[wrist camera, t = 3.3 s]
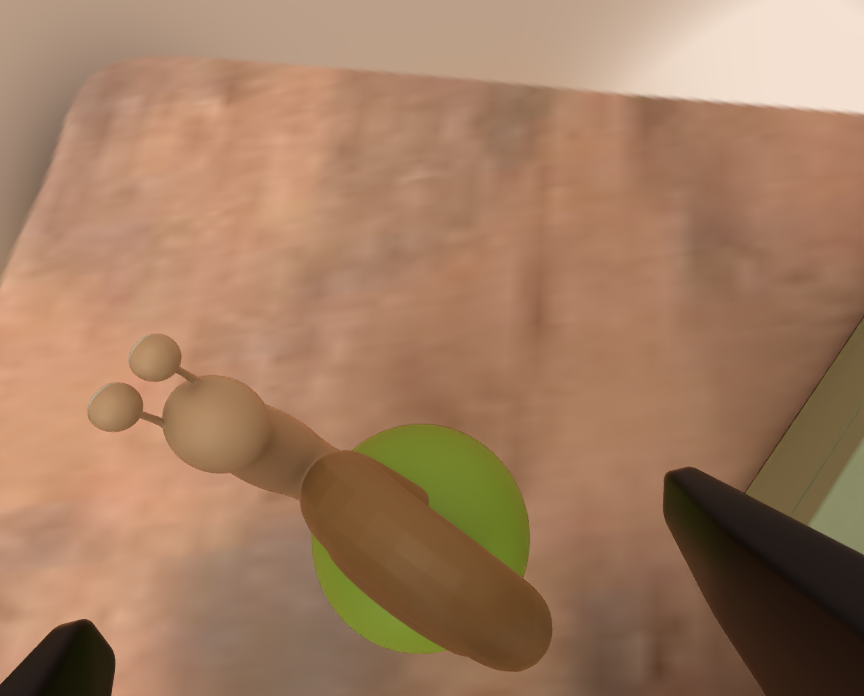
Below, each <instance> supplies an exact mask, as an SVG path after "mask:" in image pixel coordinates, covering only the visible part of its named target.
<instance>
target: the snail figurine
mask: <svg viewBox="0 0 864 696" xmlns="http://www.w3.org/2000/svg"><path fill="white" fill-rule="evenodd" d="M128 361H129V365H130V368H131V370H132V372H133V373H134V374H135V375H136V376H138V377H139V378H141V379H143V380H146V381H151V382H158V381H163V380H165V379H168V378H169V377H171V376H172V375H173V374H175V372H176V373H178V374H179V375H181V376H183V377H184V378H185V379H187V380H188V381H186V382H184V383H183V384H181V385H180V386H178V387H177V388H176V389H175V390H174V391H173V392H172V393H171V394H170V396H169V397H168V399H167V401H166V403H165V406H164V409H163V415H162V418H160V417H158V416H154V415H151V414H148V413H146V412H142V411H143V401H142V398H141V396H140V394H139V393H138V391H137V390H136V389H135V388H133V387H132V386H130V385H128V384H125V383H110V384H107V385H105V386H103V387H102V388H100V389H99V390H98V391H97V392H96V393H95V394H94V395H93V397H92V398H91V400H90V402H89V404H88V408H87V412H88V417H89V420H90V421H91V423H92V424H93V425H94V426H96V427H97V428H99V429H101V430H104V431H108V432H119V431H123V430H126V429H128V428H130V427H131V426H133V425H134V424H135V423H136V422H137V421H138V419H139V418H141V419H144V420H147V421H149V422H152V423H154V424H156V425H159V426H160V427H162V428H163V431H164V435H165V437H166V440H167V442H168V444H169V446H170V447H171V449H172V450H173V451H174V453H175V454H176V455H177V456H178V457H179V458H180V459H181V460H183V461H184V462H185V463H187V464H188V465H190V466H192V467H194V468H196V469H199V470H202V471H205V472H210V473H231V474H233V475H235V476H236V477H238V478H240V479H242V480H244V481H246V482H248V483H250V484H252V485H254V486H257V487H259V488H262V489H265V490H268V491H271V492H275V493H280V494H284V495H288V496H290V497H293V498H296V499H298V500H300V502H301V510H302V513H303V516H304V519H305V521H306V523H307V525H308V527H309V529H310V530H311V532H312V553H313V560H314V565H315V569H316V573H317V576H318V579H319V582H320V585H321V587H322V589H323V591H324V593H325V595H326V597H327V599H328V601H329V602H330V604H331V605H332V607H333V608H334V610H335V611H336V612H337V614H338V615H339V616H340V617H341V618H342V619H343V620H344V621H345V623H347V624H348V625H349V626H350V627H351V628H352V629H353V630H354V631H356V632H357V633H358V634H360V635H361V636H363V637H364V638H366V639H368V640H369V641H371V642H373V643H375V644H377V645H380V646H382V647H385V648H387V649H391V650H394V651H398V652H404V653H413V654H428V653H436V652H442V651H446V650H448V651H451V652H453V653H455V654H458V655H462V656H465V657H469V658H471V659H473V660H475V661H477V662H479V663H481V664H483V665H485V666H488V667H490V668H493V669H496V670H500V671H510V672H517V671H522V670H525V669H527V668H530V667H532V666H533V665H535V664H536V663H537V662H538V661H539V660H540V659H541V658H542V657H543V655H544V654H545V653H546V651H547V649H548V647H549V644H550V641H551V637H552V619H551V615H550V611H549V609H548V606H547V604H546V602H545V600H544V599H543V597H542V596H541V595H540V594H539V593H538V591H537V590H536V589H535V588H533V587H532V586H531V585H530V584H529V583H528V582H527V581H526V580H524V579H523V576H524V573H525V570H526V566H527V561H528V555H529V545H530V531H529V521H528V515H527V511H526V507H525V503H524V500H523V497H522V495H521V492H520V490H519V488H518V486H517V484H516V482H515V480H514V478H513V477H512V475H511V473H510V472H509V470H508V469H507V468H506V466H505V465H504V464H503V463H502V461H501V460H500V459H499V458H498V457H497V456H496V455H495V454H494V453H493V452H492V451H491V450H490V449H488V448H487V447H486V446H484V445H483V444H482V443H480V442H479V441H477V440H476V439H474V438H472V437H470V436H469V435H466V434H464V433H462V432H460V431H457V430H454V429H451V428H447V427H443V426H438V425H430V424H413V425H405V426H400V427H395V428H392V429H389V430H386V431H383V432H381V433H378V434H376V435H374V436H372V437H370V438H369V439H367V440H365V441H364V442H362V443H361V444H359V445H358V446H357V447H355V448H354V449H353V450H352V451H340V450H338V449H336V448H335V447H333V446H332V445H330V444H329V443H327V442H326V441H325V440H323V439H322V438H321V437H319V436H318V435H317V434H316V433H315V432H314V431H312V430H311V429H310V428H309V427H308V426H306V425H305V424H303V423H302V422H300V421H299V420H297V419H296V418H294V417H292V416H291V415H289V414H287V413H285V412H283V411H281V410H278V409H276V408H273V407H271V406H268V405H265V404H264V402H263V401H262V399H261V398H260V397H259V396H258V395H257V393H256V392H254V391H253V390H252V389H251V388H250V387H248V386H247V385H245V384H244V383H242V382H240V381H238V380H235V379H232V378H229V377H225V376H217V375H208V376H201V377H197V376H195V375H193V374H191V373H190V372H188V371H186V370H184V369H183V368H181V367H179V366H180V363H181V351H180V348H179V346H178V345H177V343H176V342H175V341H174V340H173V339H171V338H170V337H168V336H166V335H163V334H150V335H147V336H145V337H143V338H142V339H140V340H139V341H138V342H137V343H136V344H135V345H134V347H133V348H132V350H131V352H130V355H129V360H128Z"/></svg>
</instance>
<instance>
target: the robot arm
mask: <svg viewBox="0 0 864 696" xmlns="http://www.w3.org/2000/svg"><path fill="white" fill-rule="evenodd" d="M663 513H664V517H665V520H666V523H667V525H668V527H669V529H670V531H671V533H672V535H673V537H674V539H675V541H676V543H677V545H678V547H679V549H680V551H681V553H682V554H683V556H684V558H685V560H686V562H687V564H688V566H689V568H690V570H691V572H692V574H693V576H694V578H695V580H696V582H697V584H698V586H699V587H700V589H701V591H702V593H703V595H704V597H705V599H706V601H707V603H708V605H709V606H710V608H711V610H712V612H713V614H714V616H715V617H716V619H717V620H718V622H719V624H720V625H721V627H722V628H723V630H724V632H725V633H726V635H727V636H728V638H729V639H730V641H731V642H732V644H733V645H734V647H735V648H736V650H737V652H738V653H739V655H740V656H741V658H742V659H743V661H744V662H745V664H746V665H747V667H748V668H749V670H750V671H751V673H752V675H753V676H754V678H755V679H756V681H757V682H758V684H759V685H760V687H761V688H762V690H763V691H764V693H765V694H766V696H864V555H863V554H862V553H860V552H858V551H856V550H854V549H852V548H850V547H848V546H846V545H844V544H842V543H840V542H838V541H836V540H834V539H832V538H830V537H828V536H827V535H825V534H823V533H821V532H819V531H817V530H815V529H813V528H811V527H809V526H807V525H805V524H803V523H801V522H799V521H797V520H795V519H793V518H791V517H790V516H788V515H786V514H784V513H782V512H780V511H778V510H776V509H774V508H772V507H770V506H768V505H766V504H764V503H762V502H760V501H758V500H756V499H754V498H753V497H751V496H749V495H747V494H745V493H743V492H741V491H739V490H737V489H735V488H733V487H731V486H729V485H727V484H725V483H723V482H721V481H719V480H717V479H716V478H714V477H712V476H710V475H708V474H706V473H704V472H702V471H700V470H698V469H696V468H693V467H685V468H681V469H677V470H673V471H669V472H668V473H666V475H665V477H664V493H663ZM114 673H115V655H114V652H113V650H112V648H111V647H110V645H109V644H108V643H107V641H106V640H105V639H104V637H103V636H102V635H101V633H100V632H99V631H98V629H97V628H96V627H95V625H94V624H93V623H92V622H91V621H89V620H87V619H81V620H77V621H73V622H69V623H66V624H62V625H59V626H57V627H56V628H54V629H53V630H52V631H51V632H50V633H49V634H48V635H47V636H46V637H45V638H44V639H43V640H42V641H41V642H40V644H39V645H38V646H37V647H36V648H35V649H34V650H33V651H32V652H31V653H30V654H29V655H28V656H27V657H26V658H25V659H24V660H23V661H22V662H21V663H20V664H19V666H18V667H17V668H16V669H15V670H14V671H13V672H12V673H11V674H10V675H9V676H8V677H7V678H6V679H5V680H4V681H3V682H2V683H1V684H0V696H111V693H112V687H113V680H114Z"/></svg>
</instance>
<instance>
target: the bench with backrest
mask: <svg viewBox="0 0 864 696" xmlns="http://www.w3.org/2000/svg"><path fill="white" fill-rule="evenodd" d="M745 494H747V495H749V496H751V497H753V498H754V499H756V500H758V501H760V502H762V503H764V504H766V505H768V506H770V507H772V508H774V509H776V510H778V511H780V512H782V513H784V514H786V515H788V516H790V517H791V518H793V519H795V520H797V521H799V522H801V523H803V524H805V525H807V526H809V527H811V528H813V529H815V530H817V531H819V532H821V533H823V534H825V535H827V536H828V537H830V538H832V539H834V540H836V541H838V542H840V543H842V544H844V545H846V546H848V547H850V548H852V549H854V550H856V551H858V552H860V553H862V554H863V555H864V318H863V319H862V321H861V322H860V324H859V325H858V327H857V328H856V330H855V331H854V333H853V334H852V336H851V337H850V339H849V340H848V342H847V343H846V345H845V346H844V348H843V349H842V351H841V352H840V354H839V355H838V357H837V358H836V359H835V361H834V362H833V364H832V365H831V367H830V368H829V370H828V371H827V373H826V374H825V376H824V377H823V379H822V380H821V382H820V383H819V385H818V386H817V388H816V389H815V391H814V392H813V394H812V395H811V397H810V398H809V399H808V401H807V402H806V404H805V405H804V407H803V408H802V410H801V411H800V413H799V414H798V416H797V417H796V419H795V420H794V422H793V423H792V425H791V426H790V428H789V429H788V431H787V432H786V434H785V435H784V437H783V438H782V439H781V441H780V442H779V444H778V445H777V447H776V448H775V450H774V451H773V453H772V454H771V456H770V457H769V459H768V460H767V462H766V463H765V465H764V466H763V468H762V469H761V471H760V472H759V474H758V475H757V477H756V478H755V479H754V481H753V482H752V484H751V485H750V487H749V488H748V490H747V491H746V493H745Z"/></svg>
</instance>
